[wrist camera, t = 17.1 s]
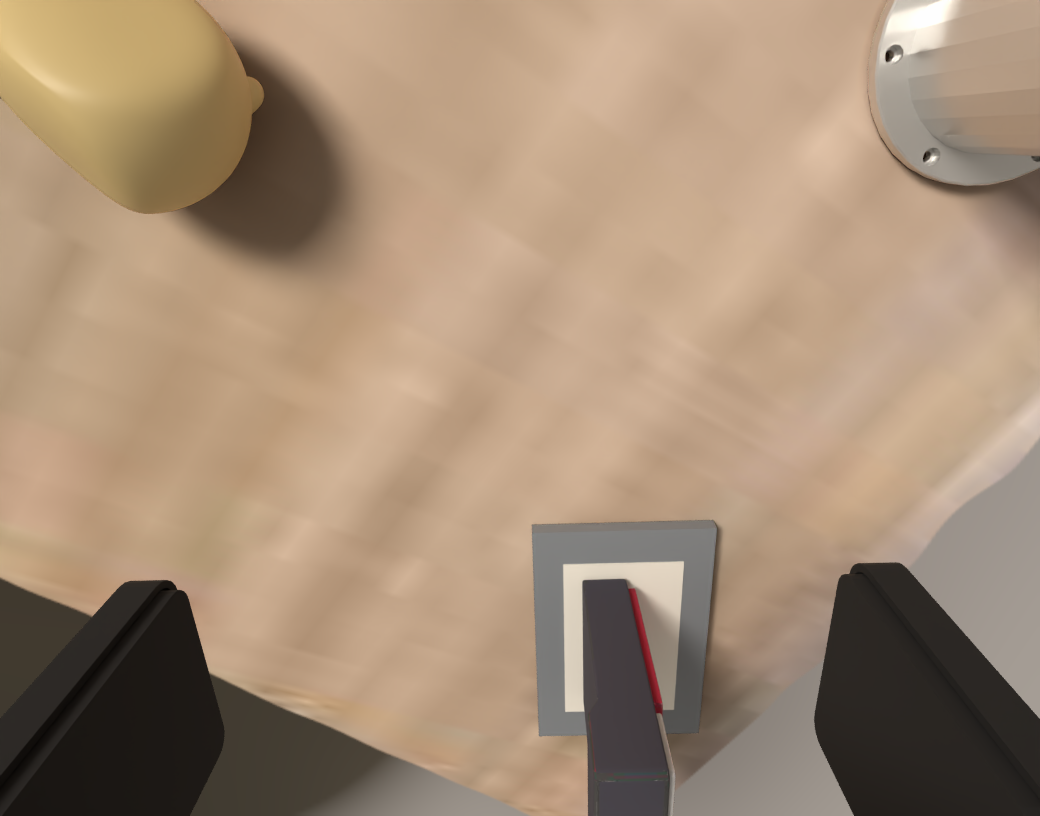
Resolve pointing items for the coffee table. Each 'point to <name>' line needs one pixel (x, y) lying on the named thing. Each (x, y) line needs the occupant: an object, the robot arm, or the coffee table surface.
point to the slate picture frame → (662, 599)
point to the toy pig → (130, 94)
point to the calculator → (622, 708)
